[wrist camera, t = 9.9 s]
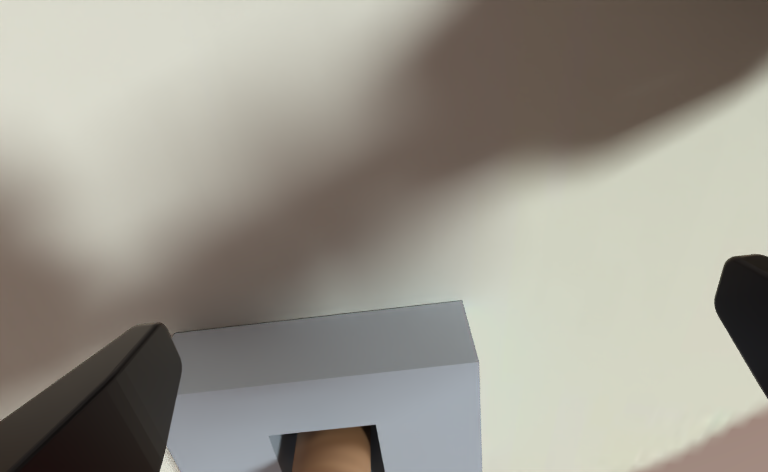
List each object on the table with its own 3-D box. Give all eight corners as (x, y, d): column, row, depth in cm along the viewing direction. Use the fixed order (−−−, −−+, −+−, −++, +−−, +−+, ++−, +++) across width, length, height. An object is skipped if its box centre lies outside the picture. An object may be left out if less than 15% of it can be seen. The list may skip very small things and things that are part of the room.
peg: (365, 368, 25) (364, 526, 18) (374, 414, 27) (376, 574, 20) (296, 375, 25) (269, 535, 18) (310, 421, 27) (290, 582, 20)
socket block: (462, 300, 23) (478, 361, 19) (469, 447, 28) (483, 515, 25) (174, 333, 23) (140, 398, 20) (236, 471, 29) (218, 541, 25)
